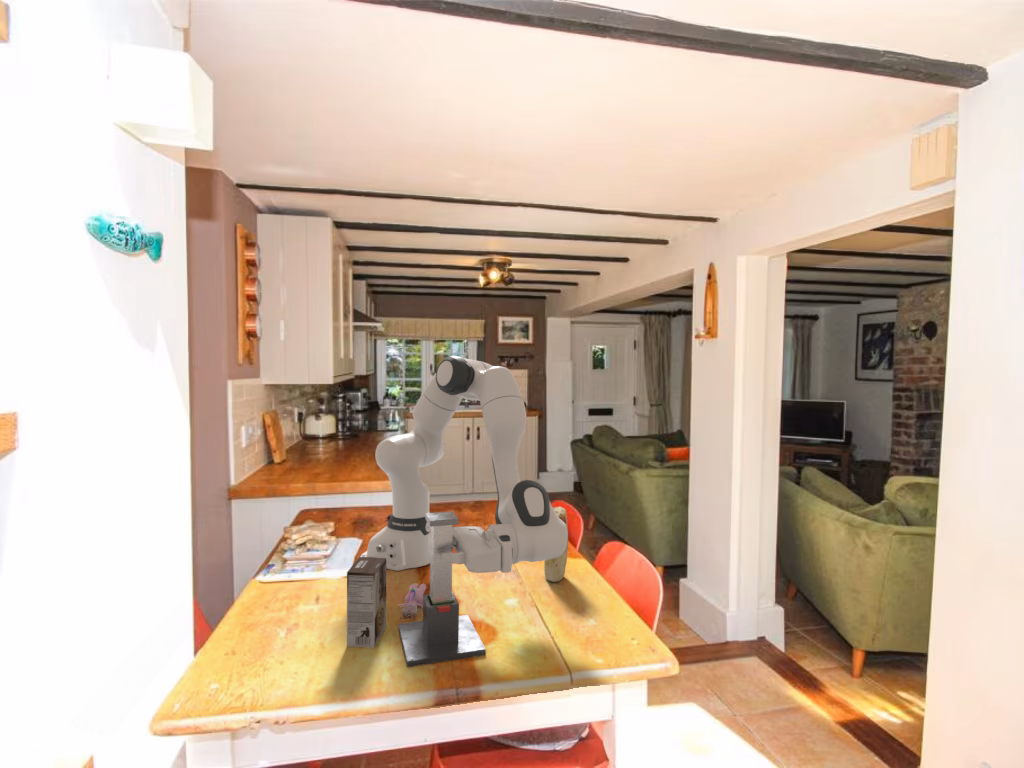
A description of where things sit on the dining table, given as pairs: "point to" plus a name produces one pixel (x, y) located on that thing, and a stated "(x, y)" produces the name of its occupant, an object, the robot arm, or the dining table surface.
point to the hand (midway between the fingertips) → (437, 550)
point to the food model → (557, 565)
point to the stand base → (439, 635)
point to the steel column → (438, 544)
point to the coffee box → (366, 602)
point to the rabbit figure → (413, 600)
